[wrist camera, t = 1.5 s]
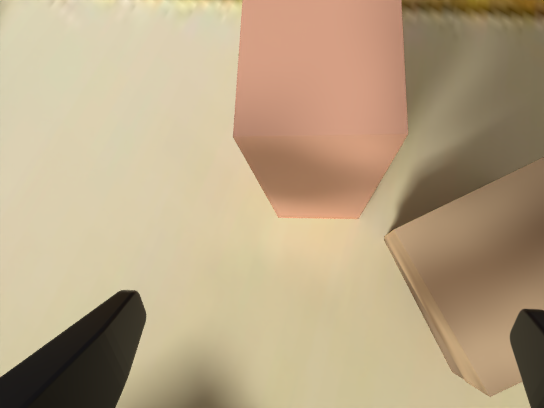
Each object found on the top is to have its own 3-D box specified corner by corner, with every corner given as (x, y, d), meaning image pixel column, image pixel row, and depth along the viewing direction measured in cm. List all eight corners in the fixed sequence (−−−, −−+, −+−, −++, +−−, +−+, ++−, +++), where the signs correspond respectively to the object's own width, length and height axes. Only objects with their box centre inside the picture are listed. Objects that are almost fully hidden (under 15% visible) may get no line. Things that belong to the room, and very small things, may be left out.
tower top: (613, 311, 17) (661, 315, 15) (465, 381, 17) (490, 396, 15) (515, 173, 19) (543, 157, 17) (384, 236, 19) (393, 229, 17)
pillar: (358, 218, 22) (407, 134, 10) (278, 217, 22) (233, 136, 10) (357, 143, 23) (400, -15, 11) (281, 144, 24) (242, -5, 12)
